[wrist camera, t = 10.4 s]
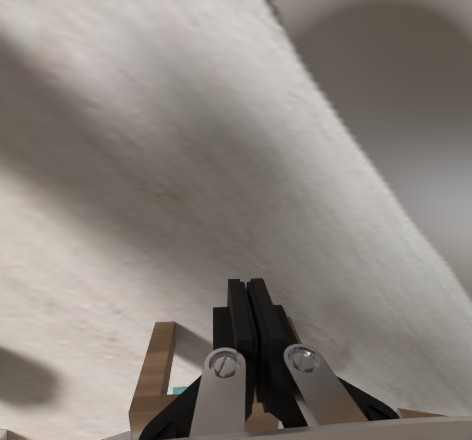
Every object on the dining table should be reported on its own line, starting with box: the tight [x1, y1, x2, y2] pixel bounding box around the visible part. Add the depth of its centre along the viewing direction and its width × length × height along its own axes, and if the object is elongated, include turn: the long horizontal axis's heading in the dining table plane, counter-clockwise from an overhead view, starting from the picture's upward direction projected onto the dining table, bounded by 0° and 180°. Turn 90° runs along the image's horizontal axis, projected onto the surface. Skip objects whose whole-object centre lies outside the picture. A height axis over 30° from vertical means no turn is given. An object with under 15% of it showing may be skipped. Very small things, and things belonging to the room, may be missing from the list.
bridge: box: [129, 317, 302, 434], centre depth 24 cm, size 3×15×10 cm, turn 88°
